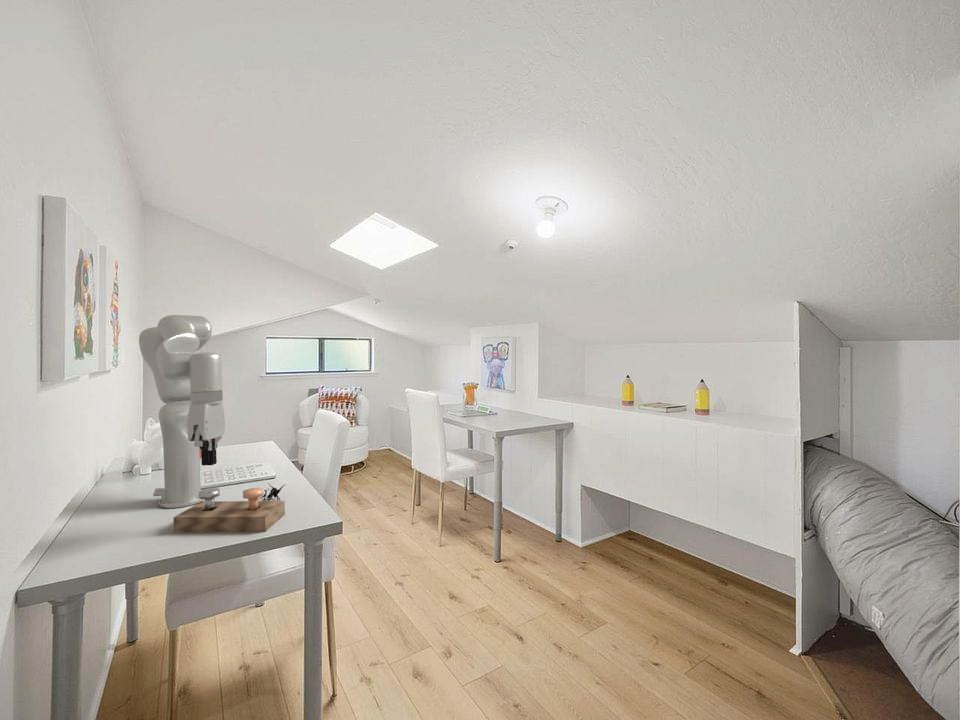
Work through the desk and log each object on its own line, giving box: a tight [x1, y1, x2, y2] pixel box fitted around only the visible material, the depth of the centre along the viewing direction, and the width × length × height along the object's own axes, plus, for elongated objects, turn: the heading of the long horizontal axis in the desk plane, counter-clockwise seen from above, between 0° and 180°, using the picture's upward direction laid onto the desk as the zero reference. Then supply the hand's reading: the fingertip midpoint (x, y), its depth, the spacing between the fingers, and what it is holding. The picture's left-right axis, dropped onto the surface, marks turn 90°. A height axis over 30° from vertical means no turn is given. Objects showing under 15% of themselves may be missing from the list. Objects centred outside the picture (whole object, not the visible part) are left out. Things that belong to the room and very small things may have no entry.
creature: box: [258, 483, 285, 501], centre depth 142 cm, size 8×5×8 cm
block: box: [172, 500, 286, 533], centre depth 125 cm, size 24×12×4 cm, turn 90°
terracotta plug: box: [242, 487, 264, 511], centre depth 125 cm, size 5×5×5 cm
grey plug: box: [199, 487, 221, 511], centre depth 125 cm, size 5×5×5 cm
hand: (209, 464), depth 125 cm, fingers closed
